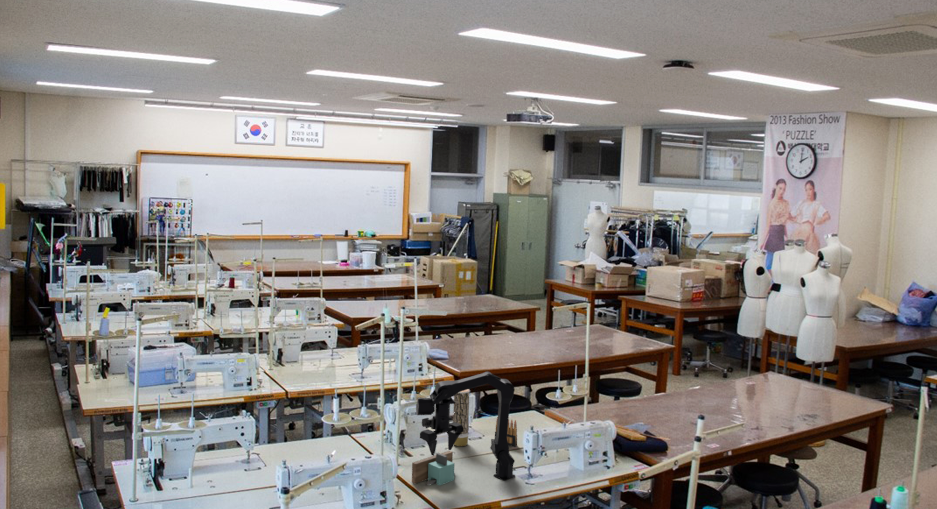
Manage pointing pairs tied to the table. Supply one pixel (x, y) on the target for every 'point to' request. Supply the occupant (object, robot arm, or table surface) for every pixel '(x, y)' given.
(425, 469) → the brown wooden beam
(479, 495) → the table surface
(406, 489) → the table surface
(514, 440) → the ammunition clip
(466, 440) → the bark textured cylinder
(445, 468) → the teal handled box
